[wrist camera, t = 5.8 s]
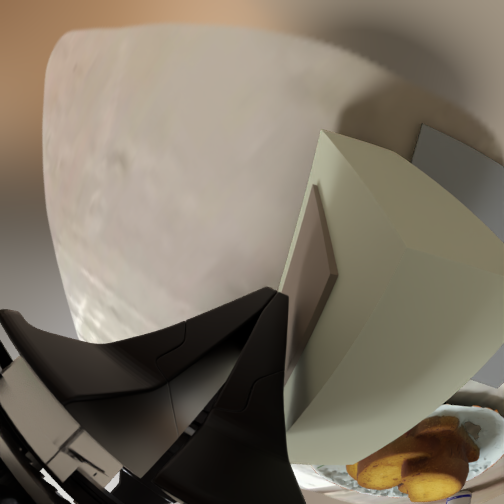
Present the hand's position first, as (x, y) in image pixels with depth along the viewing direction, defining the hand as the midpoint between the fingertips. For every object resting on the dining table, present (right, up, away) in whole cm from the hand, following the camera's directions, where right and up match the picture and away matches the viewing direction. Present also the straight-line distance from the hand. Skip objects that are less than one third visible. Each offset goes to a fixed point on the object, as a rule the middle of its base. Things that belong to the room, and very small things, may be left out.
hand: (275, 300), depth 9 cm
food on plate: (+18, -21, +13) cm, 31 cm away
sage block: (+4, +3, +6) cm, 7 cm away
